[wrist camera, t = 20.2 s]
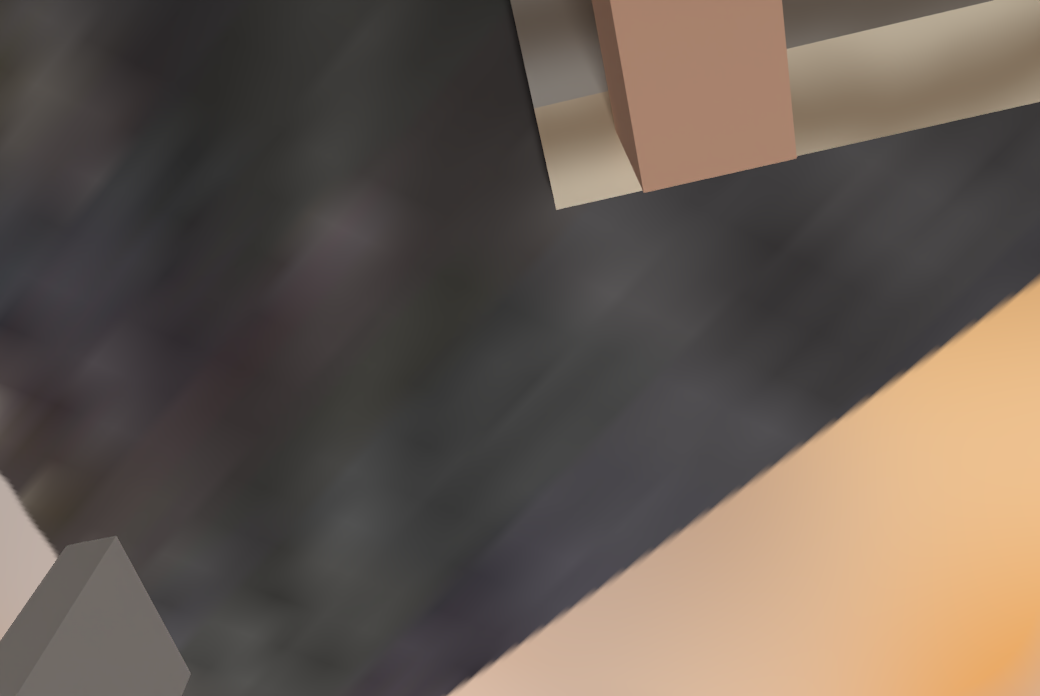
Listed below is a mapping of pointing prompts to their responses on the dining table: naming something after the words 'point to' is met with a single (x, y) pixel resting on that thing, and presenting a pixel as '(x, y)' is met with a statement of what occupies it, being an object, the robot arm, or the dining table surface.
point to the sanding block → (697, 86)
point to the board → (794, 77)
